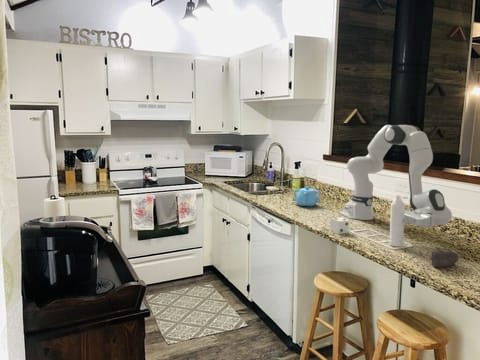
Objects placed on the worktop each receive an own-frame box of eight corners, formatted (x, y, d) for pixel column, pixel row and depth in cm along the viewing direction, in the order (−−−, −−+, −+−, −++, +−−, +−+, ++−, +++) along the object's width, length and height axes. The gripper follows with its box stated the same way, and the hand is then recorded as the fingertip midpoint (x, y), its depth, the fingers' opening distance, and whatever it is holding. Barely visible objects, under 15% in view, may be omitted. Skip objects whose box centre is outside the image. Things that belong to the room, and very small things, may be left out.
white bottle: (386, 244, 192) (388, 194, 189) (396, 242, 194) (397, 194, 192) (400, 248, 184) (402, 197, 181) (409, 247, 187) (412, 196, 184)
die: (330, 230, 213) (331, 218, 212) (340, 229, 216) (341, 216, 215) (338, 234, 207) (339, 221, 206) (348, 232, 210) (349, 220, 208)
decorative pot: (322, 207, 270) (323, 188, 267) (302, 208, 264) (303, 189, 262) (310, 202, 285) (311, 184, 282) (291, 203, 279) (292, 185, 277)
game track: (349, 231, 211) (349, 231, 211) (368, 229, 217) (368, 228, 217) (393, 249, 183) (393, 249, 183) (414, 246, 189) (414, 245, 189)
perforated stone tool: (452, 262, 169) (454, 247, 168) (462, 266, 164) (464, 251, 163) (425, 265, 165) (426, 250, 164) (434, 270, 160) (436, 254, 159)
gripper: (408, 206, 202) (385, 207, 199) (436, 216, 183) (412, 217, 179) (407, 218, 203) (384, 219, 200) (435, 228, 184) (411, 230, 180)
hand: (397, 218), depth 189 cm, fingers open, 8 cm apart
